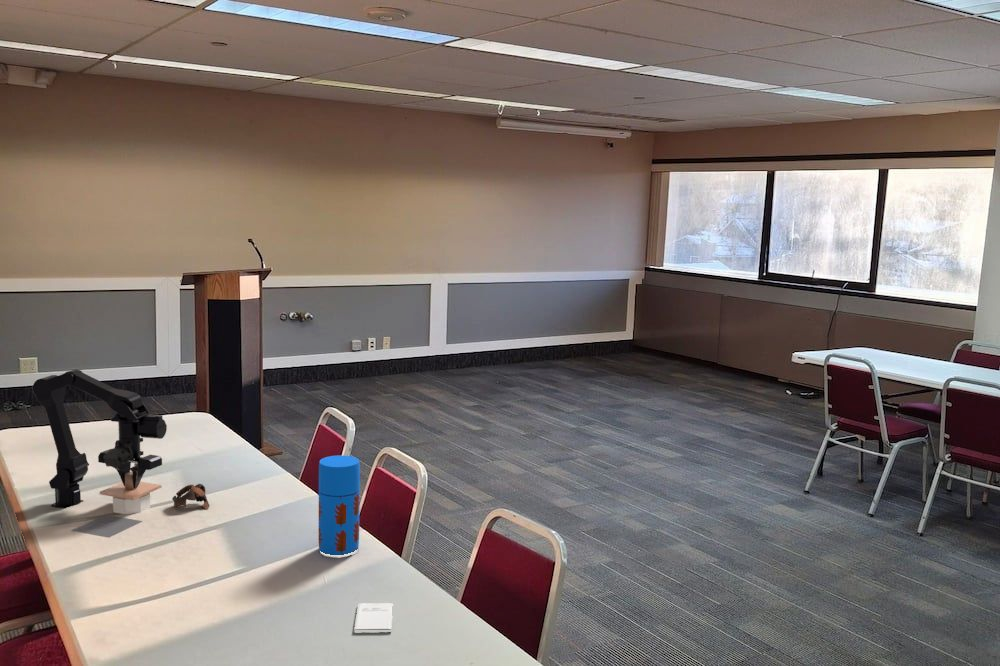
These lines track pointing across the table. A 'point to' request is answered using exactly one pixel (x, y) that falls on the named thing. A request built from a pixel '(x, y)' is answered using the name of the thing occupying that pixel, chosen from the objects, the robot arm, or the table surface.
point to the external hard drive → (374, 616)
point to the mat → (107, 526)
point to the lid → (130, 489)
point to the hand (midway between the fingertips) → (130, 487)
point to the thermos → (339, 504)
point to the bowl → (131, 504)
